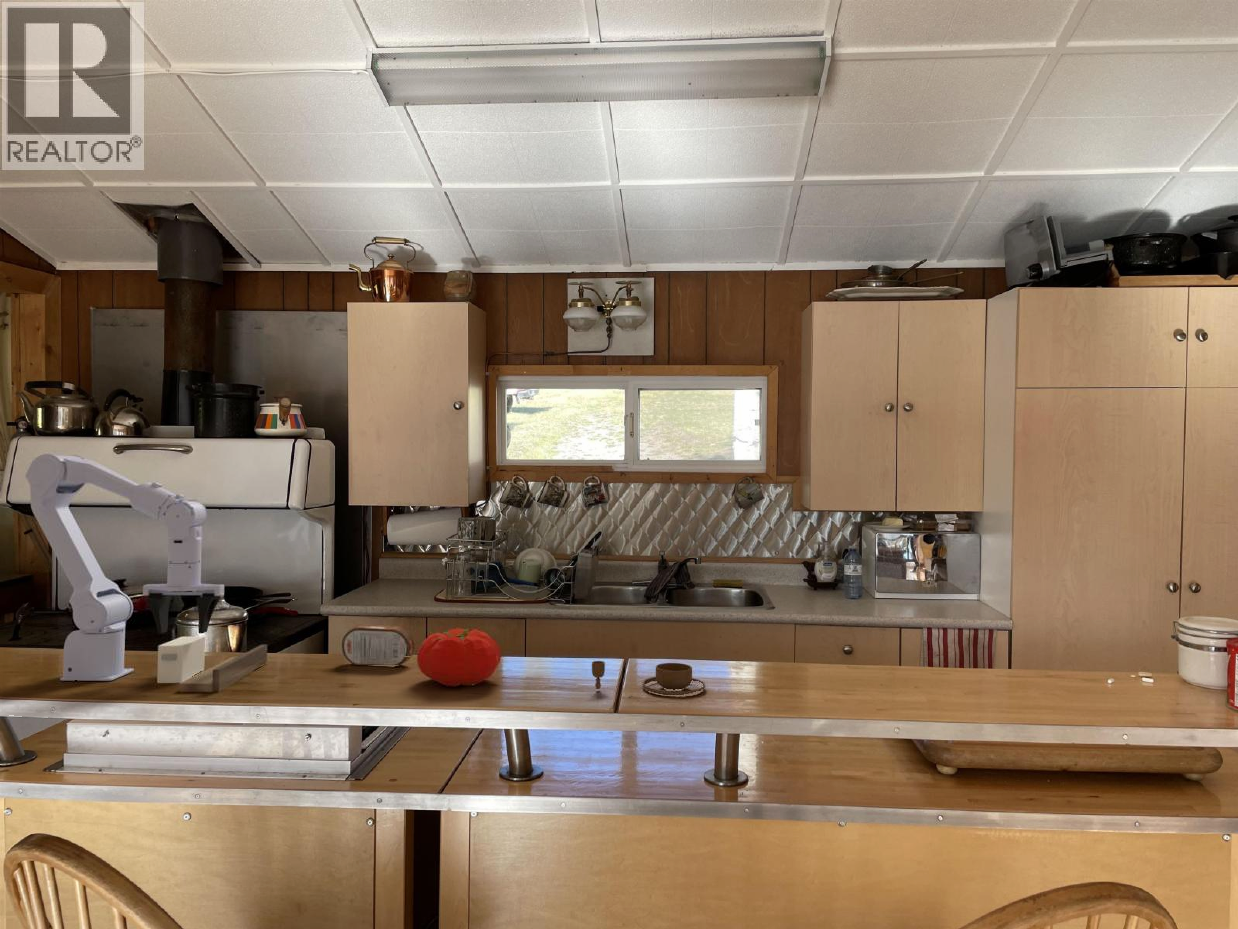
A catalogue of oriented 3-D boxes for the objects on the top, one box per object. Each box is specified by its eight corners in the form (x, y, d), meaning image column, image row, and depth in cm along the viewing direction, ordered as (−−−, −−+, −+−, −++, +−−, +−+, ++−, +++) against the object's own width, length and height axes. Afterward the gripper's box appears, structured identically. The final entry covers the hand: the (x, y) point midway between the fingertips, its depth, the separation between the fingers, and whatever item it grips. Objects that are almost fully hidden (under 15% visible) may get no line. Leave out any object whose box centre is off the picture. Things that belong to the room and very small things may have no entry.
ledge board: (179, 691, 144) (179, 669, 144) (232, 663, 166) (232, 644, 166) (218, 692, 144) (219, 669, 144) (266, 664, 166) (267, 644, 166)
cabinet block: (154, 684, 149) (156, 646, 149) (181, 671, 159) (182, 636, 159) (179, 684, 149) (180, 647, 149) (204, 671, 159) (205, 636, 159)
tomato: (441, 671, 163) (442, 622, 163) (513, 678, 157) (514, 628, 157) (400, 688, 149) (401, 635, 149) (477, 697, 144) (478, 642, 144)
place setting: (690, 708, 140) (691, 675, 141) (586, 695, 148) (587, 663, 148) (715, 685, 157) (715, 655, 157) (620, 675, 164) (621, 646, 164)
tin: (414, 665, 167) (415, 625, 167) (409, 669, 164) (409, 628, 164) (345, 663, 169) (346, 623, 169) (339, 666, 165) (340, 625, 166)
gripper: (134, 564, 151) (133, 636, 150) (213, 564, 151) (211, 636, 151) (154, 560, 158) (153, 629, 157) (229, 561, 158) (227, 629, 158)
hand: (182, 632), depth 155 cm, fingers open, 7 cm apart
